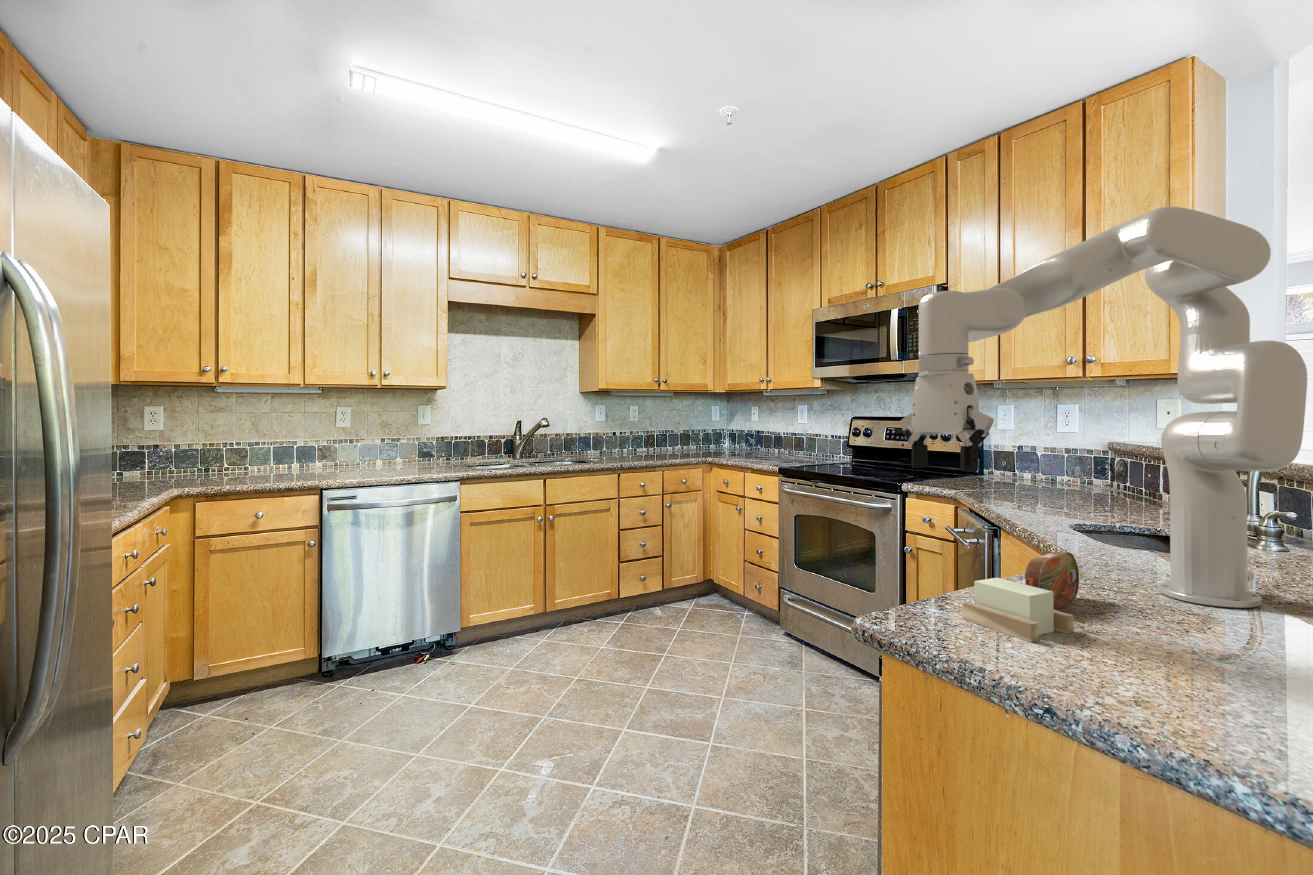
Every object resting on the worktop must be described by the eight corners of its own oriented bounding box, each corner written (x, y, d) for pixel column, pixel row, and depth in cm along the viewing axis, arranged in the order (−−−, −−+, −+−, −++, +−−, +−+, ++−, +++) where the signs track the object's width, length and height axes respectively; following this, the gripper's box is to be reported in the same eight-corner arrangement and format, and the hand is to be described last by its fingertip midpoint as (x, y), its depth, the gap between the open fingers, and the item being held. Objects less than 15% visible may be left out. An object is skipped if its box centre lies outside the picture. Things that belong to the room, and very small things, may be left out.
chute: (1003, 611, 94) (1002, 595, 94) (1073, 632, 84) (1073, 615, 84) (962, 619, 91) (962, 603, 91) (1031, 642, 80) (1030, 624, 80)
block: (997, 614, 93) (996, 577, 93) (1053, 632, 84) (1053, 591, 84) (974, 619, 91) (974, 581, 91) (1030, 637, 83) (1029, 596, 82)
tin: (1043, 615, 91) (1042, 563, 91) (1021, 611, 94) (1020, 559, 94) (1081, 598, 100) (1080, 549, 100) (1060, 594, 102) (1060, 547, 102)
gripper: (1007, 362, 90) (1007, 471, 91) (917, 372, 106) (917, 465, 106) (974, 360, 87) (974, 473, 87) (886, 371, 103) (887, 467, 103)
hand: (943, 469), depth 97 cm, fingers open, 9 cm apart
